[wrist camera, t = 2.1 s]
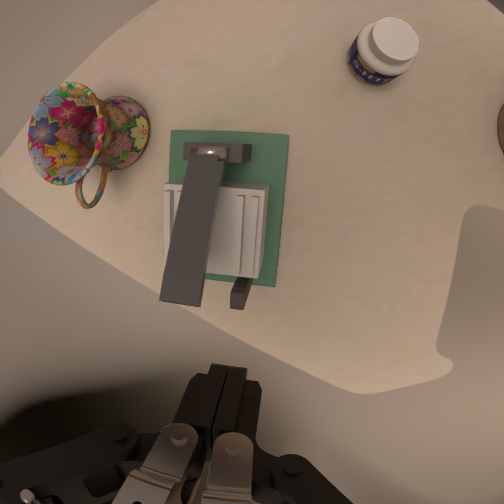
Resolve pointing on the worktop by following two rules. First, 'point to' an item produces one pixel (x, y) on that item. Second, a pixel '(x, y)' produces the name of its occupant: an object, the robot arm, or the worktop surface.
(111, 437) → the robot arm
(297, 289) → the worktop surface
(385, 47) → the pill bottle
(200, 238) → the strap
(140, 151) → the mug
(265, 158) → the heatsink base
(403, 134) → the worktop surface
